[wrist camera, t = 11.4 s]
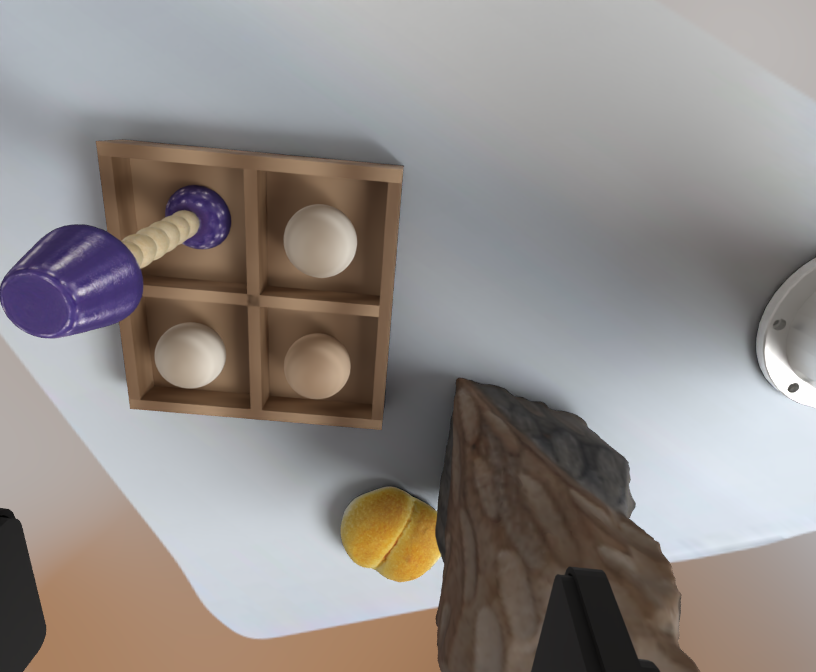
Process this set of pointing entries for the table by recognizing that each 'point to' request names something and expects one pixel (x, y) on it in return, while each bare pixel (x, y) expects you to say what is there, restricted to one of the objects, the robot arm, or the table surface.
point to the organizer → (257, 278)
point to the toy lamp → (103, 267)
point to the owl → (538, 534)
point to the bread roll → (391, 533)
